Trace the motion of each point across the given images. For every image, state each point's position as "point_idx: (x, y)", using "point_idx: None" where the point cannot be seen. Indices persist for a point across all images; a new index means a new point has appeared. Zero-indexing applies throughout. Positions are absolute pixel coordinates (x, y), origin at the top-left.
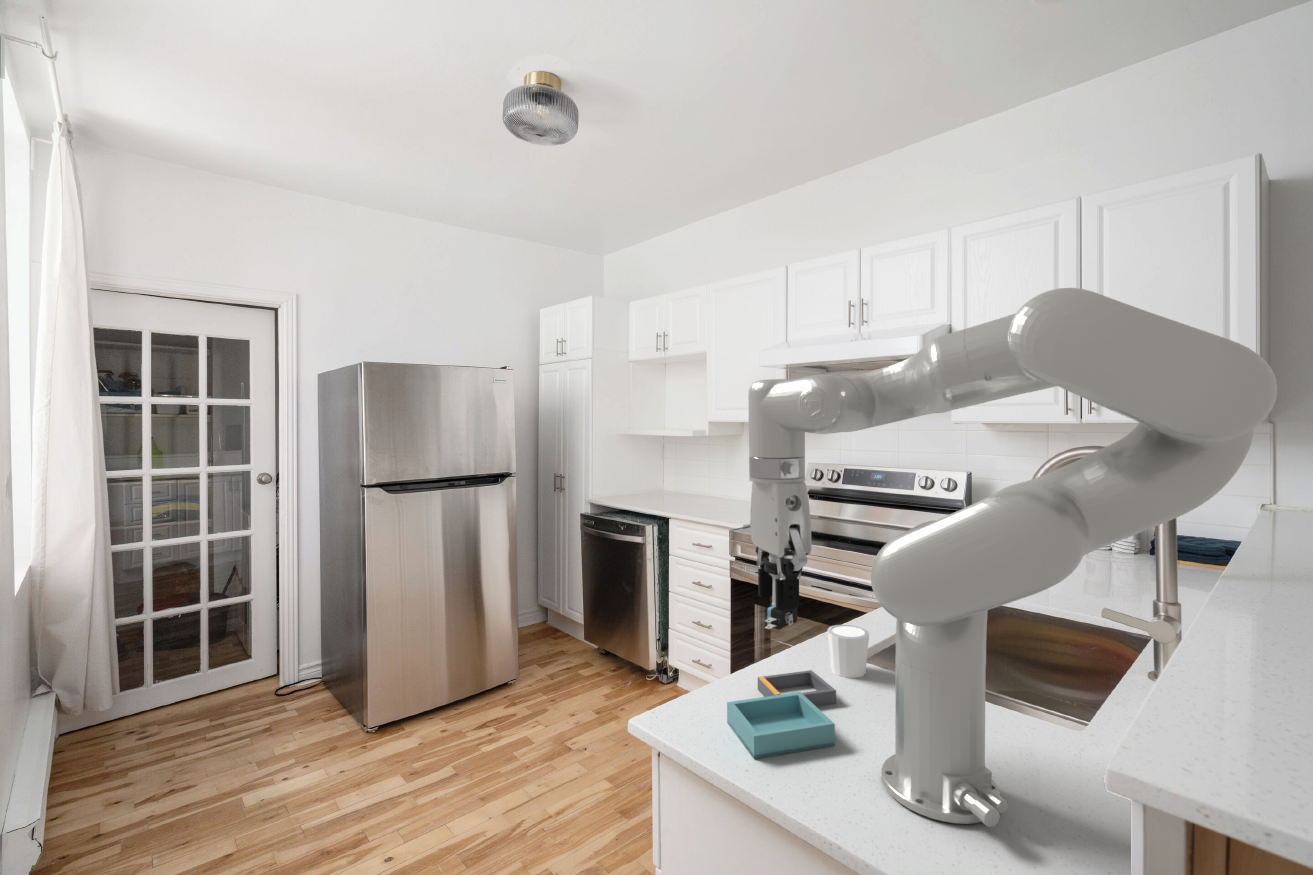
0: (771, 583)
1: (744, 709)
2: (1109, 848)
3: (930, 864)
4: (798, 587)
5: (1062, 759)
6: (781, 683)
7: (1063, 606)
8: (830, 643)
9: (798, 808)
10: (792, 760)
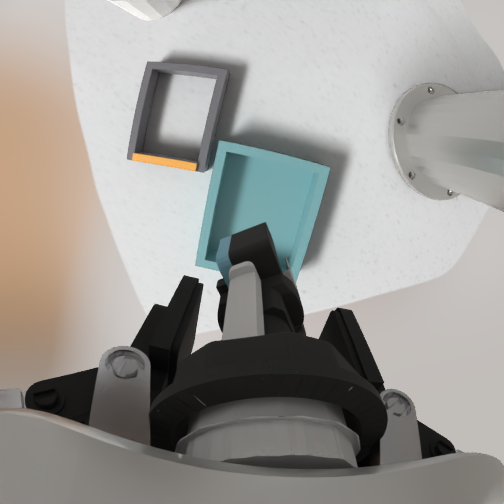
0: (189, 343)
1: (209, 240)
2: None
3: (470, 239)
4: (370, 355)
5: (445, 2)
6: (145, 120)
7: None
8: (126, 6)
9: (378, 284)
10: (318, 236)
